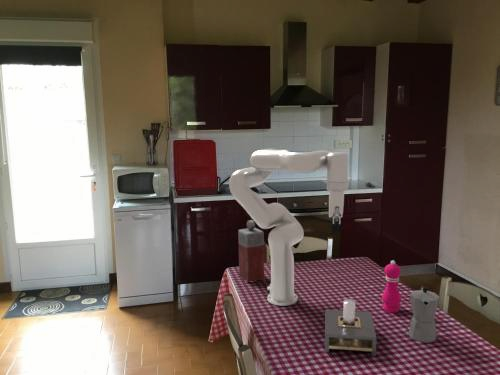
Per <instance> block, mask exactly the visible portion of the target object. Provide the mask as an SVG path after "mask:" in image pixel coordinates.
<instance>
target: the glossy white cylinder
mask: <svg viewBox="0 0 500 375" xmlns="http://www.w3.org/2000/svg"><path fill="white" fill-rule="evenodd" d="M342 303H343V304H342V306H343V308H342V309H343V325H344V326H355V311H356V300H354V299H349V298H348V299H343V301H342Z"/></svg>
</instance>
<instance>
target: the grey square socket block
mask: <svg viewBox="0 0 500 375" xmlns="http://www.w3.org/2000/svg"><path fill="white" fill-rule="evenodd" d="M324 315H325V316H324V323H325V324H324V353H325V354H326V353H327V354H328V353H330V349H331V350H345V351H347V350H348V351H358V352H359V351H361V352H370V353H371V356H372V357H377V334H376V330H375V326H374V320H373V317H372V316H373V315H372V312H371V311H361V310H360V311H359V310H355V326H344V325H343V310H342V309H341V310H340V309H326V308H325V310H324Z"/></svg>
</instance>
